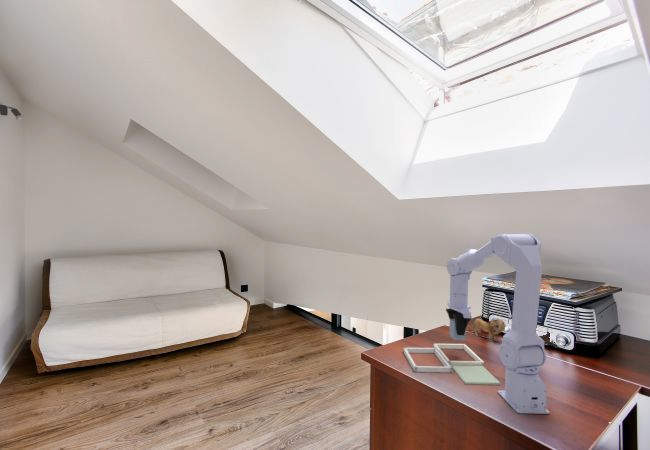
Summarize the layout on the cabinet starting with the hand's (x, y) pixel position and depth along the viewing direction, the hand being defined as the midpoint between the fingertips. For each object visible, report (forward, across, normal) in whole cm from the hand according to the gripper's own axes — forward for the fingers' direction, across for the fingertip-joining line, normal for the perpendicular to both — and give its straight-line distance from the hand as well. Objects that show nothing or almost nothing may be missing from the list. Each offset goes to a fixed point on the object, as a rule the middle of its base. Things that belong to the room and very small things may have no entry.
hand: (457, 332), depth 109 cm
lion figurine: (+9, +18, -19) cm, 28 cm away
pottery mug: (+9, +13, -38) cm, 41 cm away
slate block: (+2, 0, 0) cm, 2 cm away
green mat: (+8, -13, 0) cm, 16 cm away
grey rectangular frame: (+8, -4, +12) cm, 15 cm away
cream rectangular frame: (+8, 0, 0) cm, 8 cm away
